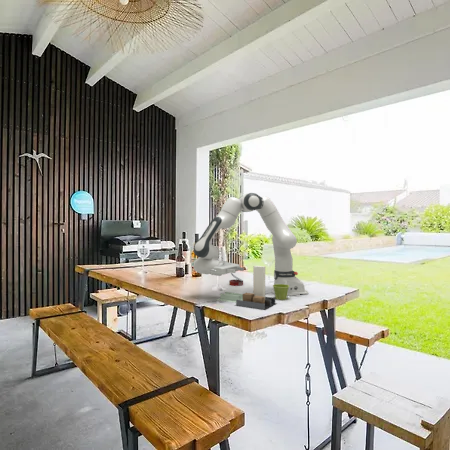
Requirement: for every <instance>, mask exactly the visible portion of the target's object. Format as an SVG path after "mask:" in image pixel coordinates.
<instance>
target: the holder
mask: <svg viewBox="0 0 450 450" xmlns="http://www.w3.org/2000/svg"><path fill="white" fill-rule="evenodd" d="M243 294H244V293H238V292H229V291H224V293H220V295H219V297H220V298H218V299H215V300H216V302H217V301H221V302H228V303H235V304H236V300H243Z"/></svg>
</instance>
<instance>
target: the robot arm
mask: <svg viewBox="0 0 450 450" xmlns="http://www.w3.org/2000/svg"><path fill="white" fill-rule="evenodd" d="M253 211H256V212H257V213H259V215H260V218H261V219H262V222H263V223H264V224H265V226H266V229H267V230H268V231H269V232H270V234H272V238H271V242H272V247H273V253H274V271H273V278H274V281H273V285H275V284H285V285H289V288H288V292H287V297H289V296H290V297H291V296H301V295H300V294H303V295H309V291H308V290H307V289H306V288H305V283H304V282H303V281H301V280H300V279H299V278H298V277H296V276H298V274H299V272H297V271H294V270H293V256H292V251H291V249H294V247H296V245H297V244H298V243H297V242H298V240H297V237H296V235H295V234H294V233H293V232H292V230H291V229H290V227H289V226H288V225H287V223H286V222H285V221H284V219H283V217H282V215H281V214H280V212H279V209H278V208H277V207H276V205H275V204H274V202H273V201H272V200H271V198H269V197H268V196H260V195H259V194H257V193H255V192H249V193H246V194H244V195H241V196H240V197H239V198H238V197H235V196H231V197H228V198H227V200H226V201H225V202H224V204H223V206H222V207H221V209H220V211H219V213H218V214H217V216H216V217H213V219H212V220H211V221H210V222H209V224H208V226H207V227H206V228H205V230H204V232H203V233H202V235H200V238H198V240H196V242H195V243H194V245H193V249H192V250H193V253H194V255H195V256H196V257H197V258H196V259H194V261H193V269H194V272H196V273H199V274H202V275H211V276H216V277H217V276H218V277H220V276H222V275H226V274H227V275H228V274H231V273H232V274H235V273H236V272H238V271H240V272H241V271H242V272H243V271H244V267H241V266H240V264H238V263H233V262H229V261H227V260H226V261H225V260H224V261H223V260H219V255H220V250H219V249H218V247H217V246H215V245H213V244H211V242H212V240H213V238H214V237H215V235H216V234H217V232H218V231H219V230H222V229H230V228H231V227H233V225H235V223H236V221H237V219H238V217H239V214H240V213H241V212H242V213H248V212H249V213H250V212H253ZM271 293H272V294H275V291H274V287H273V286H272V291H271Z"/></svg>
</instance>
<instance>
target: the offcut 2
mask: <svg viewBox="0 0 450 450" xmlns="http://www.w3.org/2000/svg"><path fill="white" fill-rule="evenodd" d="M265 297H266V296H265ZM265 297H262V296H254V297H253V302H258V303H265Z"/></svg>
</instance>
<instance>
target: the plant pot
mask: <svg viewBox="0 0 450 450" xmlns="http://www.w3.org/2000/svg"><path fill="white" fill-rule="evenodd" d="M273 287H274V291H275V293H274V298H275V300H278V301H279V300H280V301H281V300H282V301H285V300H287V299H288V298H287V297H288V296H287V292H288V288H289V285H285V284H275V285H274V284H273V285H272V288H273Z"/></svg>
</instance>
